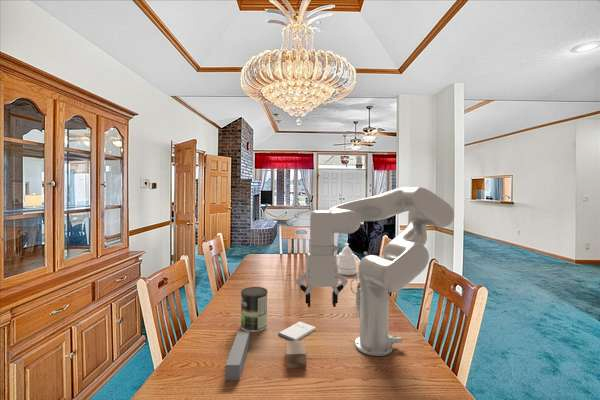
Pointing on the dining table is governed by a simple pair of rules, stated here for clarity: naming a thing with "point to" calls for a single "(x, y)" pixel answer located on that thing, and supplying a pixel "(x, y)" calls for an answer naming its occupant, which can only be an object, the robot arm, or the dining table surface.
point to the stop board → (237, 356)
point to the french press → (358, 290)
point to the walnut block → (295, 354)
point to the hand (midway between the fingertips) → (321, 305)
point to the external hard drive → (297, 331)
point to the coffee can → (254, 309)
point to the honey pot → (347, 262)
